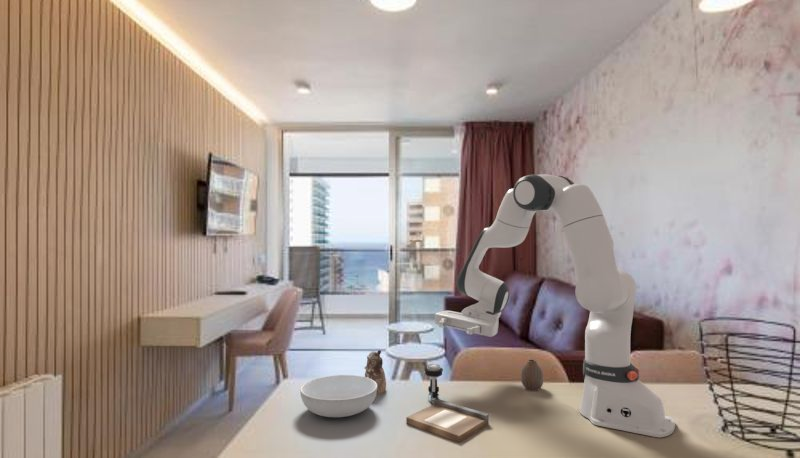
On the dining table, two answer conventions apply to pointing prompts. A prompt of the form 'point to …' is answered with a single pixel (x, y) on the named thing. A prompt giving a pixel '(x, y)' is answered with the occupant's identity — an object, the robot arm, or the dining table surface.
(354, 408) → the serving bowl
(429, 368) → the push button
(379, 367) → the figurine
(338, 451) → the dining table surface
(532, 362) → the vase
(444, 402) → the brown board with label
